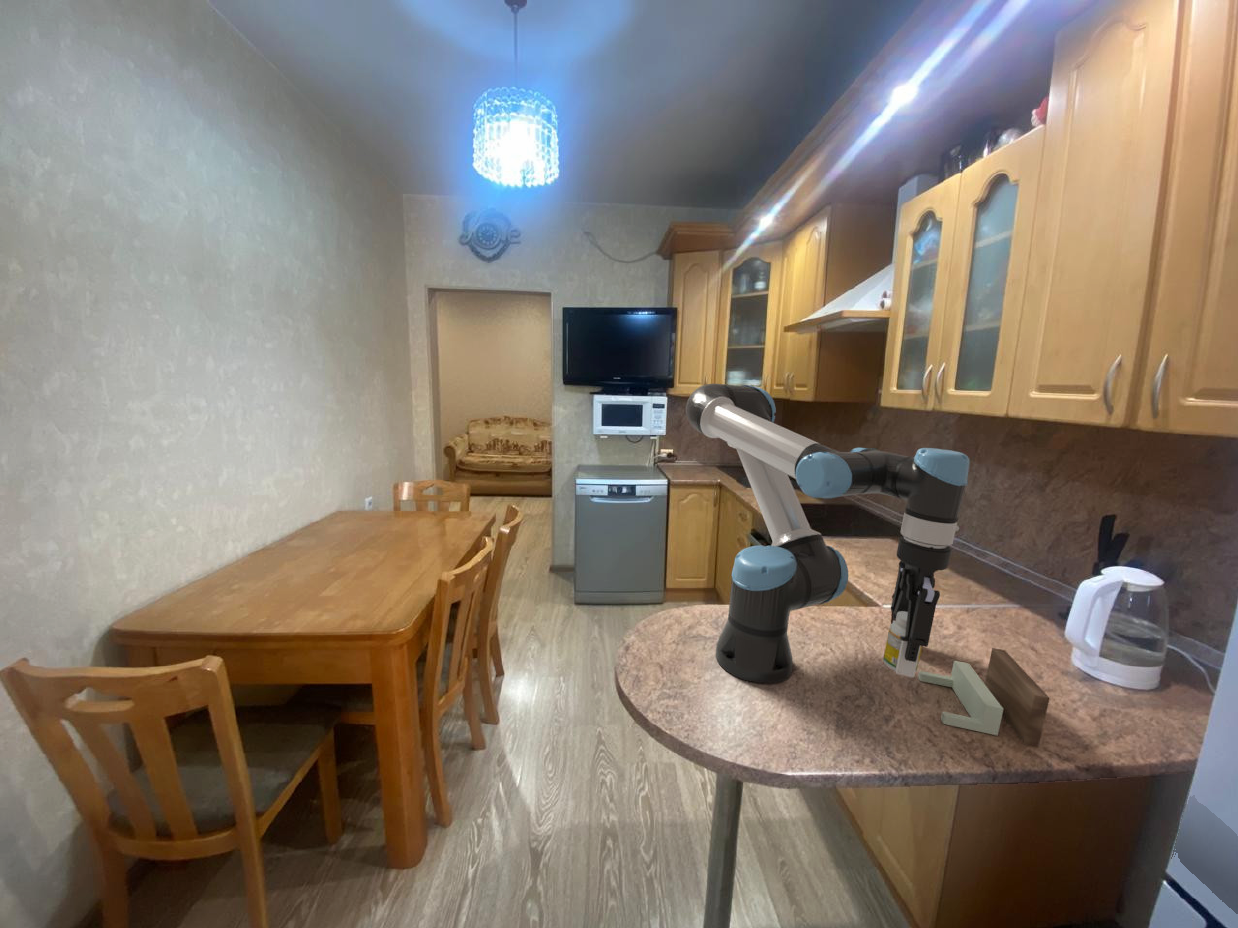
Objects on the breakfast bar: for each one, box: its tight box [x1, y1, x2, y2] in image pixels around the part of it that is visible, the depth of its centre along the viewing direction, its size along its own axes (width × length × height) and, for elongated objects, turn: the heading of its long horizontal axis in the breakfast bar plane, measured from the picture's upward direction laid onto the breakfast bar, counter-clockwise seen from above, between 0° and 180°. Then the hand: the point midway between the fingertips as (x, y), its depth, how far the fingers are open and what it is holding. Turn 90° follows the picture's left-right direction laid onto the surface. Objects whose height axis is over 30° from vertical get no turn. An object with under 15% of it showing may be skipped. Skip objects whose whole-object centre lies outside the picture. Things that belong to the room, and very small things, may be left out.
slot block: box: [917, 660, 1003, 736], centre depth 88 cm, size 8×14×5 cm, turn 164°
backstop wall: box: [984, 647, 1051, 748], centre depth 85 cm, size 2×15×9 cm, turn 164°
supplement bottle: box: [882, 611, 923, 673], centre depth 84 cm, size 5×5×10 cm
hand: (899, 664), depth 85 cm, fingers closed on supplement bottle, 5 cm apart
